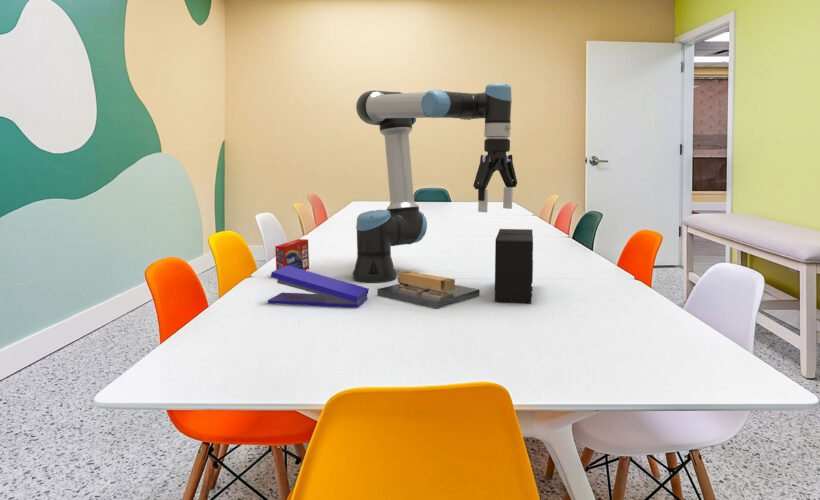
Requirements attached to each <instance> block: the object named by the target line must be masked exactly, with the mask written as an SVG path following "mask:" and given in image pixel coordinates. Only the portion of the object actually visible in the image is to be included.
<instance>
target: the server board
mask: <svg viewBox="0 0 820 500" xmlns="http://www.w3.org/2000/svg"><path fill="white" fill-rule="evenodd" d="M376 291H377V294H376V295H377V297H378V296H379V297H383V298H388V299H392V300H397V301H401V302H406V303H410V304H414V305H418V306H419V305H420V306H424V307H428V308H431V309H432V308H433V309H437V310H438V309H440V308H444V307H448V306H452V305H455V304H457V303H461V302H464V301H468V300H471V299H475V298H477V297H480V295H481V294H480V289H479V288H473V287H468V286H462V285H457V284H455V289H454V290H450V291H441V290H436V289H431V288H425V287H420V286H415V285H410V284H403V283H397V284H393V285H389V286H384V287H381V288H377V290H376Z"/></svg>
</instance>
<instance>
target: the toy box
mask: <svg viewBox="0 0 820 500" xmlns="http://www.w3.org/2000/svg"><path fill="white" fill-rule="evenodd" d="M274 249H275V270H278V269H280V268H282V267H285V266H287V265H288V266H292V267H295V268H299V269H302V270H307V269H309V270H310V257H309V256H310V254H309V253H310V252H309V239H303V238H298V239H295V240H291V241H287V242H285V243H281V244H279V245H275V247H274ZM307 271H308V270H307Z"/></svg>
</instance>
